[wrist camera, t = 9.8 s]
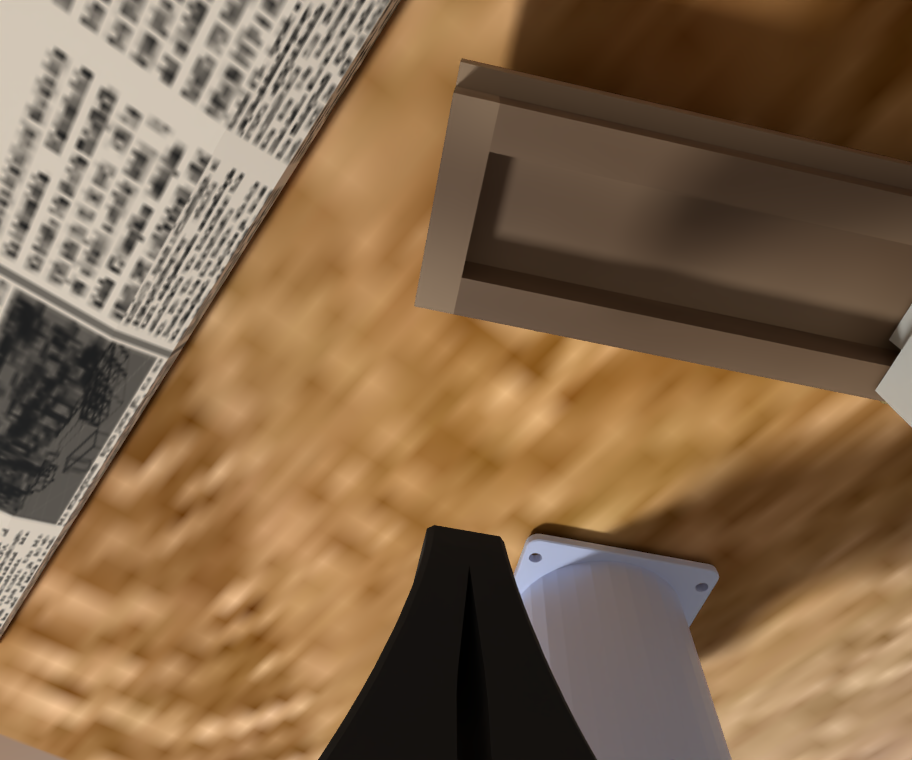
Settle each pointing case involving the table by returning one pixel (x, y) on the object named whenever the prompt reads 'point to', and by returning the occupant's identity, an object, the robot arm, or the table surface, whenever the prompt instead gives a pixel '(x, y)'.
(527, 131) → the beam
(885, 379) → the block
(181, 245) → the newspaper
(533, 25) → the table surface
